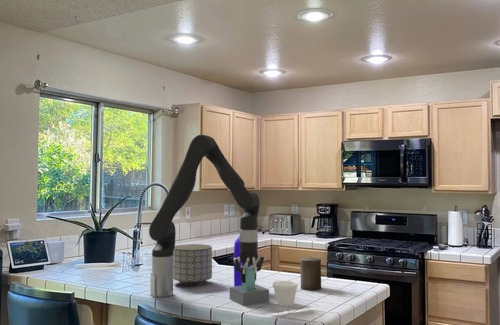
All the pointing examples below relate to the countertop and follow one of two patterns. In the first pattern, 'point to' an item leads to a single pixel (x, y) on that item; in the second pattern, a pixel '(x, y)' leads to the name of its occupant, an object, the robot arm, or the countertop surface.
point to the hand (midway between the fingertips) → (248, 281)
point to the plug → (249, 279)
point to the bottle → (236, 254)
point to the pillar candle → (310, 273)
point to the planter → (192, 263)
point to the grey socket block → (249, 295)
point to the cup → (285, 292)
